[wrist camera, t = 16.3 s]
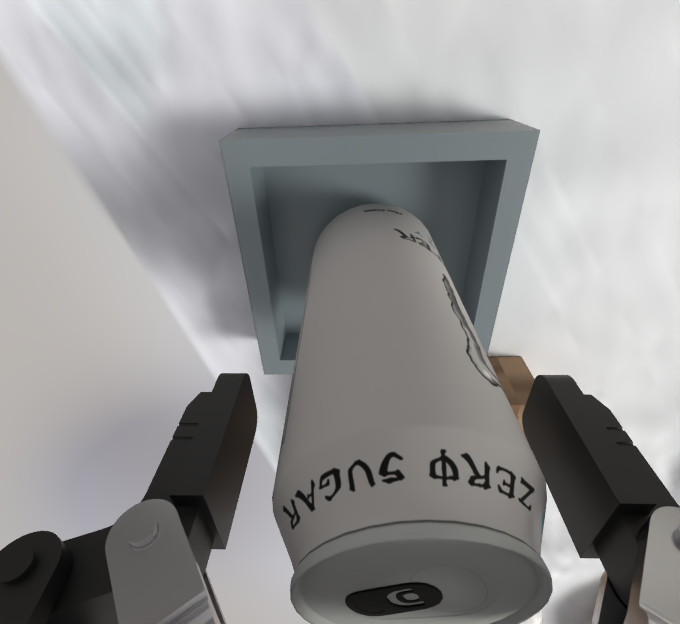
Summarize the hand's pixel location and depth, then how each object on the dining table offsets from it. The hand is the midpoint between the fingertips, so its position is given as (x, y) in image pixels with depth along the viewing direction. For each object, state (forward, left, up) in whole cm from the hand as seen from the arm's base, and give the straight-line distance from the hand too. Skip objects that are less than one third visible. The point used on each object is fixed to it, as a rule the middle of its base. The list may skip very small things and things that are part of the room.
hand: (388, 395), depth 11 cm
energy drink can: (0, 0, -10) cm, 10 cm away
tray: (0, 0, -11) cm, 11 cm away
